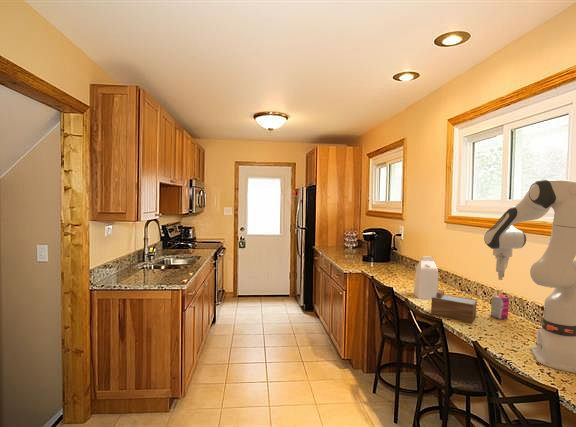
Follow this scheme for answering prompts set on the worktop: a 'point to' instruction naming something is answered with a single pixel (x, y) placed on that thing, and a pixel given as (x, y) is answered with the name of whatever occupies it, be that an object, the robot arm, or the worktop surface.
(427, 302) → the worktop surface
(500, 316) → the supplement box
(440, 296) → the lid
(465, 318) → the wooden box
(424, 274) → the milk
